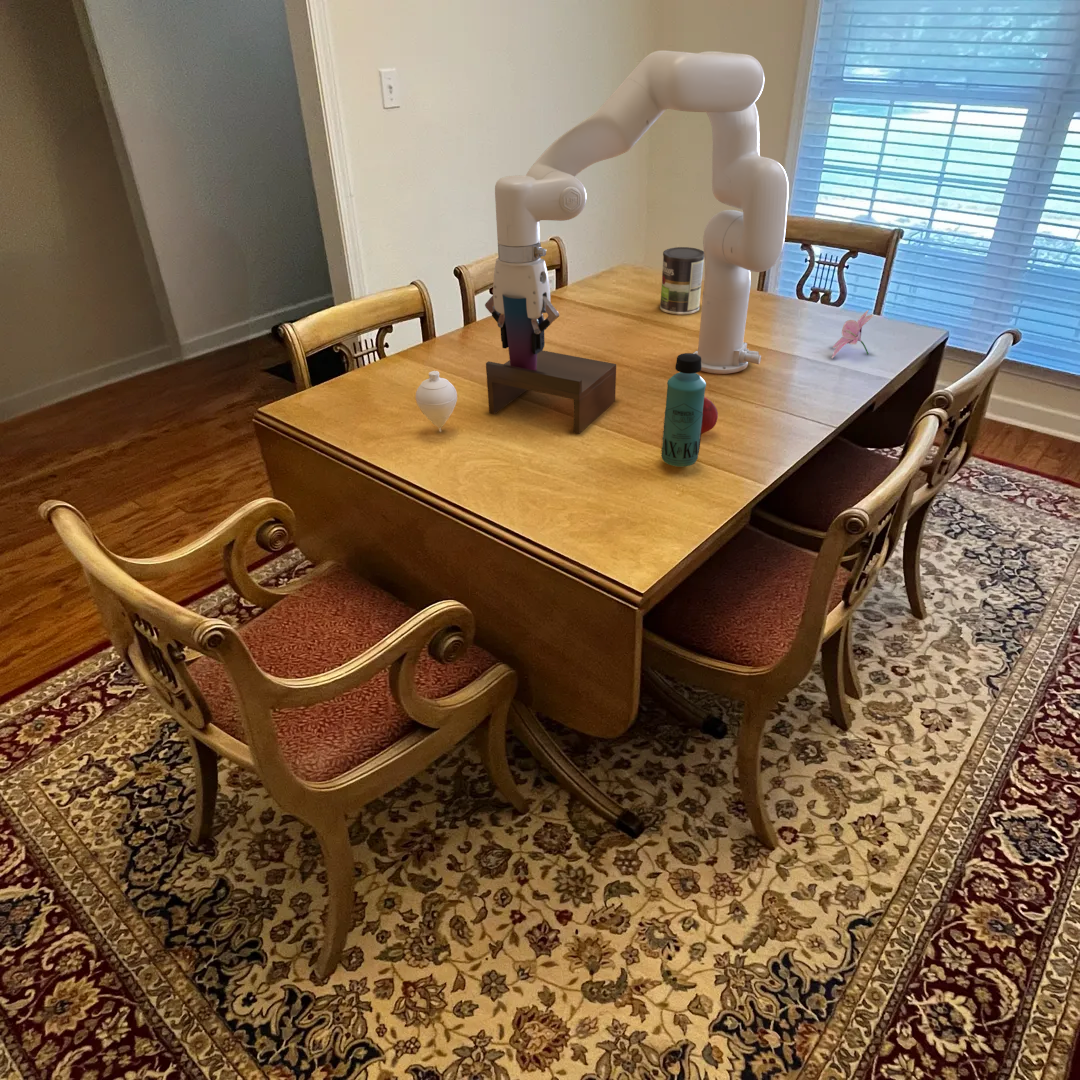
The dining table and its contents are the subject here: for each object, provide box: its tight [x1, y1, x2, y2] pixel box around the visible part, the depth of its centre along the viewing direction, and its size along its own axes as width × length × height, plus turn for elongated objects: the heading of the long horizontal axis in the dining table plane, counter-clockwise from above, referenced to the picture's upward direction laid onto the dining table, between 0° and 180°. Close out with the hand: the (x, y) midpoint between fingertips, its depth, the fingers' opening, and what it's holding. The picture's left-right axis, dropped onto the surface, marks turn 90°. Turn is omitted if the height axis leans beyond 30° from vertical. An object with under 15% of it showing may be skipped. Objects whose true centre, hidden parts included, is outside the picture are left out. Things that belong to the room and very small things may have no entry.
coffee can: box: [659, 246, 705, 316], centre depth 202 cm, size 10×10×14 cm
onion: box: [700, 395, 719, 436], centre depth 145 cm, size 6×6×8 cm
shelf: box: [485, 349, 617, 435], centre depth 156 cm, size 16×20×10 cm
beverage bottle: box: [660, 352, 707, 468], centre depth 132 cm, size 6×7×20 cm
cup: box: [502, 294, 538, 371], centre depth 150 cm, size 7×7×15 cm
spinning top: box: [415, 370, 458, 433], centre depth 148 cm, size 8×8×12 cm
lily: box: [831, 309, 874, 359], centre depth 176 cm, size 12×12×10 cm
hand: (522, 348), depth 152 cm, fingers closed on cup, 5 cm apart
